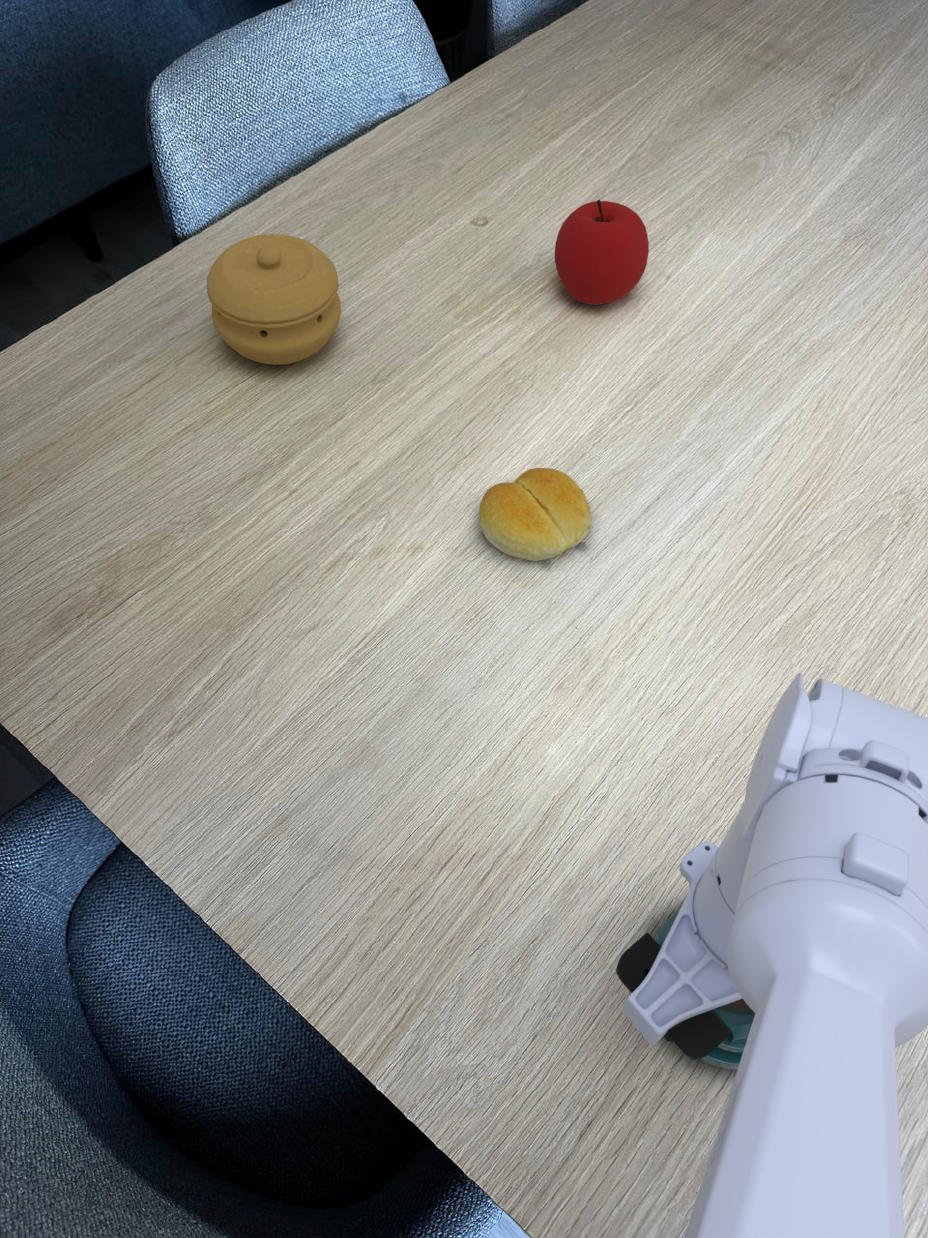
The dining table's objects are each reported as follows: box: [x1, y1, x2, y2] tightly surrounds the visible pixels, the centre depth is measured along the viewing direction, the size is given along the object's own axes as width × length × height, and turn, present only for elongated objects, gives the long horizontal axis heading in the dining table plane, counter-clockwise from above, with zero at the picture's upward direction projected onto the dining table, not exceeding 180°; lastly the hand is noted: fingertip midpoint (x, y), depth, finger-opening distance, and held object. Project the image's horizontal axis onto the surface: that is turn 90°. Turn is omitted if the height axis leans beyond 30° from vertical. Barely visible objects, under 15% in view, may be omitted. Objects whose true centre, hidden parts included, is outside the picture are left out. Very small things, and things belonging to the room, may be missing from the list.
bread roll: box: [478, 467, 593, 562], centre depth 84 cm, size 8×9×4 cm
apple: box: [554, 199, 650, 305], centre depth 99 cm, size 9×9×10 cm
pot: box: [206, 233, 342, 366], centre depth 94 cm, size 12×12×10 cm
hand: (711, 976), depth 55 cm, fingers open, 7 cm apart
